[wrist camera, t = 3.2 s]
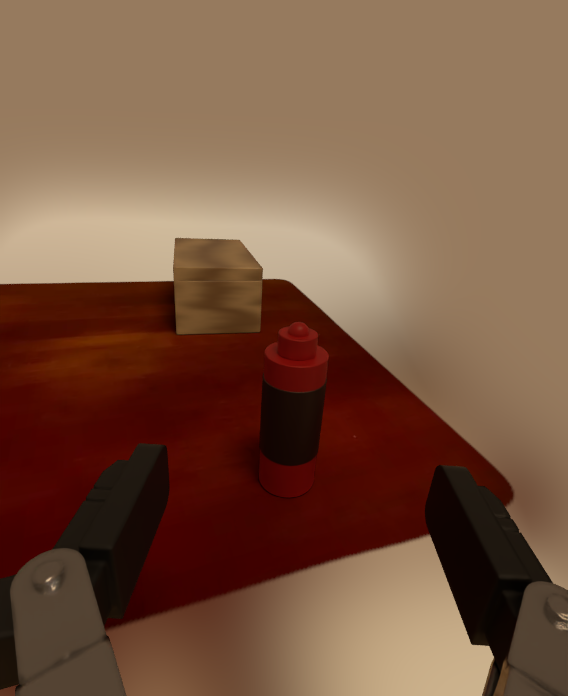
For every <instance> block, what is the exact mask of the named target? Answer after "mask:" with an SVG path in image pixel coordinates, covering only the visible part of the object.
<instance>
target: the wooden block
mask: <svg viewBox="0 0 568 696" xmlns="http://www.w3.org/2000/svg"><path fill="white" fill-rule="evenodd" d="M262 272H263V268H262V267H261V266H260V264H259V263H258V262H257V261H256V260H255V258H254V257H253V256H252V255H251V253H250V252H249V251H248V250H247V248H245V246H244V245H243V244H242V242H241V241H240V240H226V239H190V238H175V249H174V265H173V273H174V293H175V313H176V333H177V335H178V334H213V333H249V332H260V320H261V297H262Z"/></svg>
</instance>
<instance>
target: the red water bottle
mask: <svg viewBox="0 0 568 696" xmlns="http://www.w3.org/2000/svg"><path fill="white" fill-rule="evenodd" d="M317 342H318V333H317V332H316V331H314V330H312V329H310V328H308V327H307V326H306V325H305V324H304V323H302V322H295V323H293V324H291V325H290V326H289V327H284V328H282V329H280V330H279V332H278V342H276V343H273V344H271V345H269V346H268V347H267V348H266V350H265V358H264V373H263V382H262V403H261V424H260V462H259V481H260V483H261V485H262V486H263V488H264V489H265V490H266V491H268V492H269V493H271V494H273V495H276V496H279V497H285V498H291V497H297V496H301V495H303V494H305V493H306V492H307V491H309V490H310V488H311V487H312V485H313V482H314V474H315V466H316V458H317V453H318V448H319V440H320V431H321V423H322V415H323V407H324V398H325V390H326V382H327V379H326V374H327V366H328V358H329V356H328V353H327V352H326V350H324V349H323V348H322V347H320V346H318V345H317Z"/></svg>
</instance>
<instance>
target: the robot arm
mask: <svg viewBox="0 0 568 696" xmlns="http://www.w3.org/2000/svg"><path fill="white" fill-rule="evenodd" d="M168 496H169V472H168V456H167V447H166V446H165V445H156V444H142V443H140V444H138V445H137V447H136V449H135V450H134V452H133V454H132V455H131V457H130V459H129V461H127V460H117V461H116V462H115V463H114V464H112V465H111V466H110V467H108V468H107V469H106V470H105V471H103V473H102V474H101V476H100V477H99V479H98V480H97V482H96V483H95V485H94V488H93V489H91V491H90V493H89V494H88V496H87V497H86V501H84V502H83V503H82V505H81V506H80V508H79V509H78V511H77V513H76V514H75V516H74V517H73V519H72V520H71V522H70V523H69V525H68V526H67V528H66V529H65V531H64V533H63V534H62V536H61V537H60V539H59V540H58V542H57V543H56V545H55V546H54V548H53V549H52V550H50V551H47V552H44V553H42V554H40V555H38V556H36V557H35V558H33V559H32V560H30V561H29V562H28V563H26V564H25V565H24V566H23V567H22V568H21V569H20V571H19V572H18V573H17V574H16V575H13V576H10V577H6V578H1V579H0V689H4V688H7V687H11V686H14V685H18V684H19V685H18V686H16V690H15V696H126V693H125V690H124V686H123V683H122V679H121V676H120V673H119V669H118V666H117V662H116V659H115V655H114V652H113V649H112V645H111V642H110V639H109V637H108V636H107V635H106V632H105V629H104V625H105V623H106V620H107V618H118V619H122V618H123V616H124V613H125V610H126V608H127V605H128V603H129V600H130V598H131V595H132V593H133V590H134V587H135V585H136V582H137V580H138V577H139V575H140V572H141V570H142V567H143V564H144V562H145V559H146V557H147V554H148V552H149V549H150V546H151V544H152V541H153V539H154V536H155V534H156V531H157V529H158V526H159V523H160V521H161V518H162V516H163V513H164V511H165V508H166V505H167V501H168ZM425 518H426V524H427V527H428V530H429V533H430V535H431V538H432V541H433V543H434V546H435V549H436V551H437V554H438V557H439V559H440V562H441V564H442V567H443V570H444V573H445V575H446V578H447V581H448V583H449V586H450V589H451V591H452V594H453V596H454V599H455V601H456V604H457V607H458V610H459V612H460V615H461V618H462V620H463V623H464V625H465V628H466V631H467V634H468V636H469V639H470V642H471V644H472V645H485V646H490V649H491V651H492V653H493V656H494V659H493V661H492V663H491V666H490V669H489V673H488V677H487V680H486V684H485V687H484V691H483V694H482V696H568V590H566V589H564V588H562V587H560V586H558V585H556V584H553V583H552V581H551V579H550V578H549V576H548V575H547V573H546V572H545V570H544V568H543V567H542V565H541V563H540V562H539V560H538V559H537V557H536V556H535V554H534V552H533V551H532V549H531V548H530V546H529V545H528V543H527V541H526V540H525V539H524V537H523V535H522V534H521V533H519V529H518V527H517V526H516V524H515V522H514V521H513V520H512V519H511V518H510V515H509V513H508V511H507V510H506V508H505V507H504V505H503V504H502V502H501V500H499V499H498V498H497V497H496V496H495V495H494V494H493V493H492V492H490V491H489V490H488V489H487V488H486V487H485V486H477V484H476V482H475V481H474V479H473V477H472V475H471V474H470V472H469V471H468V469H467V468H465V467H458V466H443V465H439V466H437V467H436V469H435V472H434V476H433V480H432V483H431V487H430V491H429V494H428V498H427V501H426V506H425Z"/></svg>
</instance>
